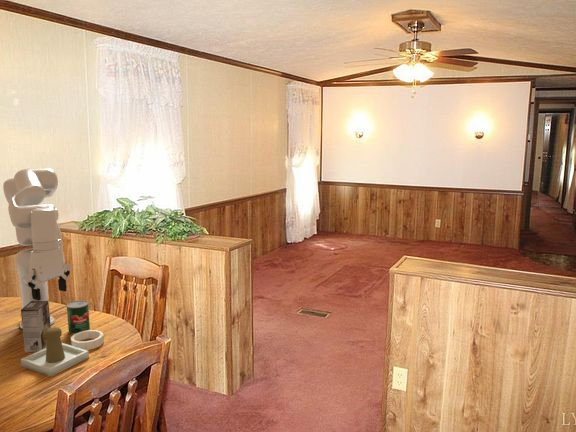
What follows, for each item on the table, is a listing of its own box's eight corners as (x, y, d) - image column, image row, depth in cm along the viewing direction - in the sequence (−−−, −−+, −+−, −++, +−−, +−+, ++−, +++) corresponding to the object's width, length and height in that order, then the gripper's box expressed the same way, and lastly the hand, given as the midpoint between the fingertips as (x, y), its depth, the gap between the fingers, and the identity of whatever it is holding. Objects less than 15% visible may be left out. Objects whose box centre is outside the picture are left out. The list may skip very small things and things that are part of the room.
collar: (65, 346, 177) (64, 338, 176) (89, 335, 187) (89, 328, 186) (85, 352, 172) (85, 344, 171) (109, 341, 182) (109, 333, 181)
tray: (21, 366, 162) (20, 359, 162) (60, 348, 175) (59, 342, 175) (50, 376, 155) (50, 369, 155) (89, 357, 168) (88, 350, 168)
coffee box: (35, 341, 181) (31, 300, 178) (52, 340, 182) (49, 300, 179) (24, 352, 172) (19, 309, 169) (42, 351, 173) (38, 309, 170)
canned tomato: (77, 335, 186) (75, 308, 184) (64, 331, 190) (61, 305, 188) (94, 328, 193) (92, 302, 191) (81, 324, 197) (79, 299, 195)
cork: (57, 363, 162) (54, 333, 160) (41, 362, 163) (38, 331, 161) (68, 355, 167) (66, 325, 166) (53, 354, 169) (51, 324, 167)
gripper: (61, 239, 167) (64, 286, 170) (13, 249, 152) (18, 301, 155) (76, 241, 164) (79, 289, 167) (28, 252, 149) (33, 305, 152)
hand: (50, 295), depth 161 cm, fingers open, 9 cm apart
